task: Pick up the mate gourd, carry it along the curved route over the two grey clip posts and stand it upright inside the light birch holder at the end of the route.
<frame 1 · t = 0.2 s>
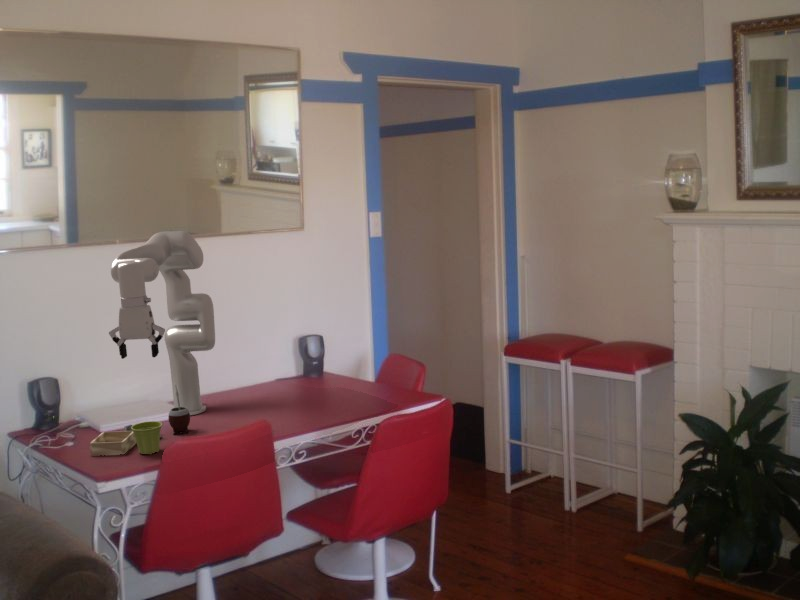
hand: (139, 357, 290), 31 cm above the table, tool pointing down, fingers open, 9 cm apart
clip a: (152, 436, 311), on the table
clip b: (133, 439, 309), on the table
mate gourd: (180, 432, 315), on the table
holder: (114, 449, 300), on the table
plant pot: (149, 452, 296), on the table
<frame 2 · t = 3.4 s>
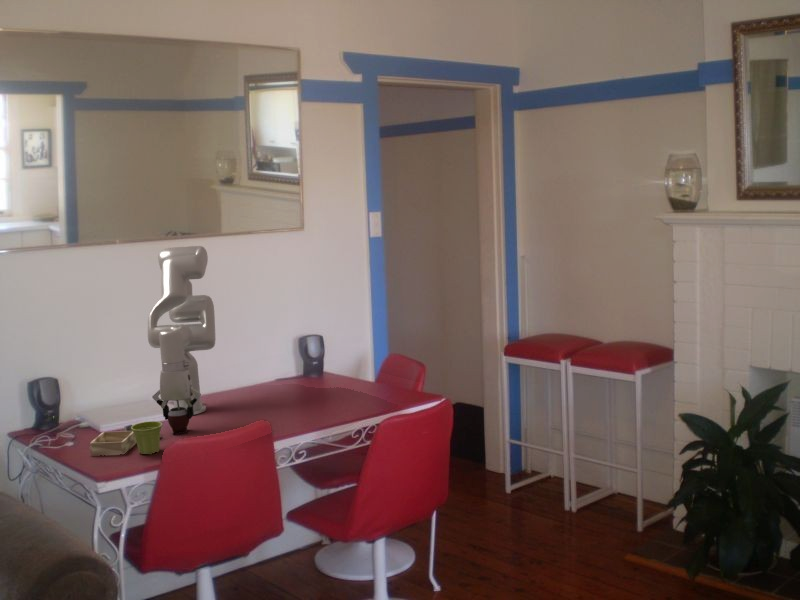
hand: (178, 417, 314), 5 cm above the table, tool pointing down, fingers closed on mate gourd, 7 cm apart
mate gourd: (179, 432, 315), on the table, touching gripper
everything else where it was.
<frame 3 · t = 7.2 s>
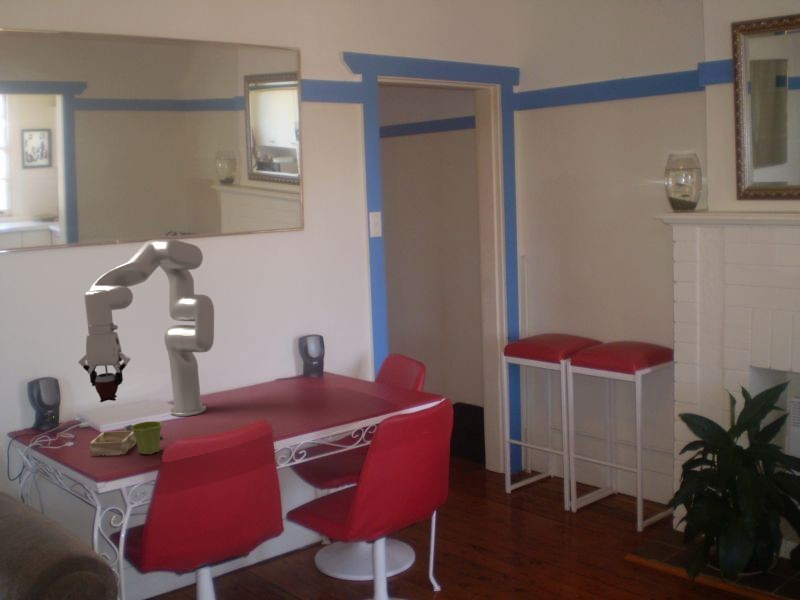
hand: (107, 384, 297), 21 cm above the table, tool pointing down, fingers closed on mate gourd, 7 cm apart
mate gourd: (108, 399, 298), point 16 cm above the table, touching gripper
everything else where it was.
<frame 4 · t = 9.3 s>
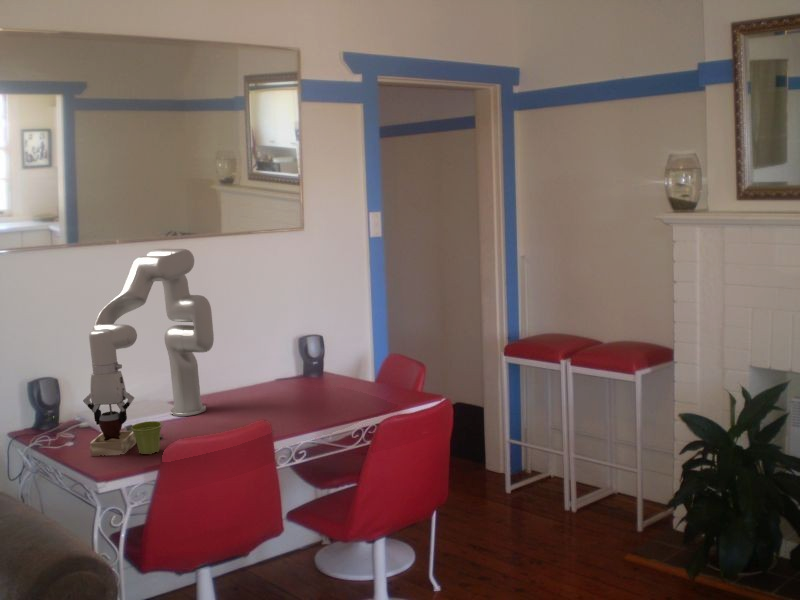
hand: (111, 422, 299), 9 cm above the table, tool pointing down, fingers closed on mate gourd, 7 cm apart
mate gourd: (112, 437, 300), point 4 cm above the table, touching gripper
everything else where it was.
when the fingers open (8 cm above the table, at t = 10.6 s): mate gourd drops 2 cm, resting on holder.
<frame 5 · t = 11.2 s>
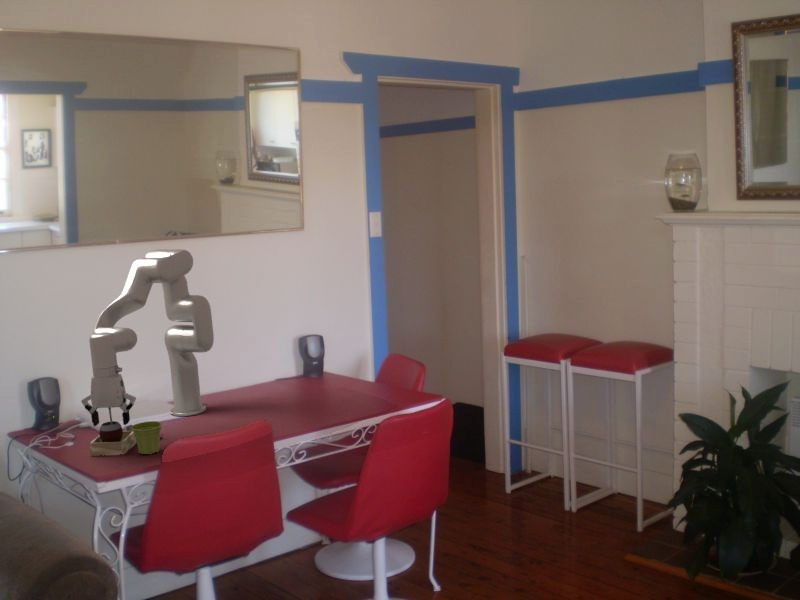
hand: (111, 424, 299), 8 cm above the table, tool pointing down, fingers open, 9 cm apart
mate gourd: (112, 447, 300), resting on holder
everything else where it was.
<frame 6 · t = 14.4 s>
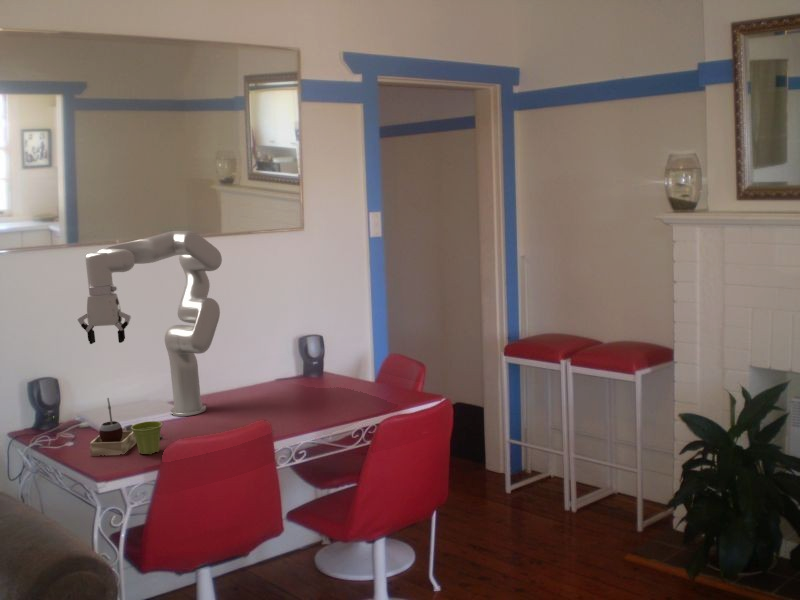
hand: (107, 342, 307), 32 cm above the table, tool pointing down, fingers open, 9 cm apart
nothing on the table moved.
at the end: mate gourd inside the target area on the holder (0.6 cm from its centre), point 0.4 cm above the holder's base; mate gourd tilted 0°; the gripper is holding nothing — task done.
